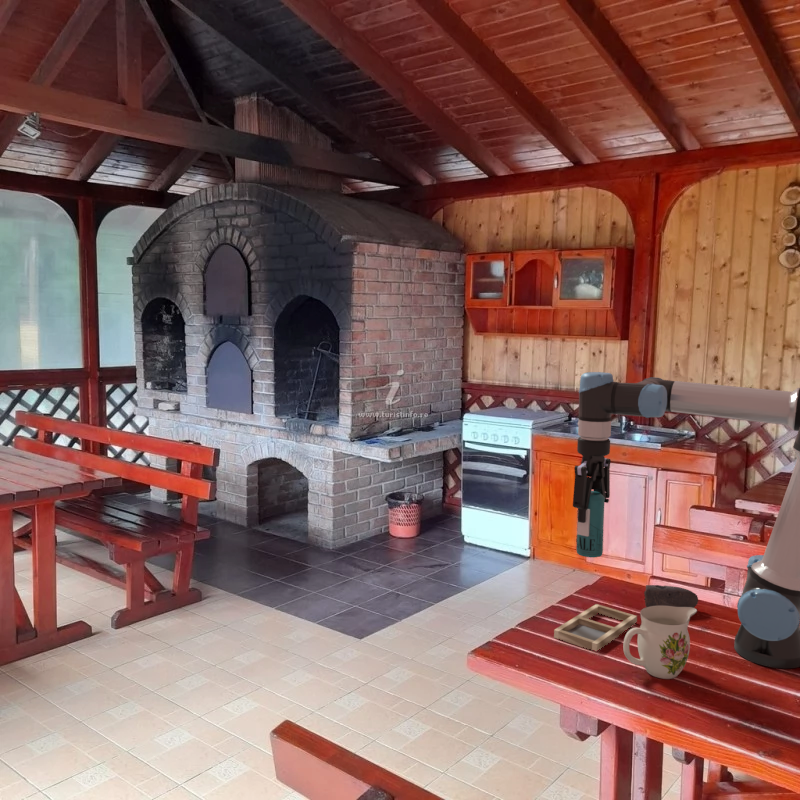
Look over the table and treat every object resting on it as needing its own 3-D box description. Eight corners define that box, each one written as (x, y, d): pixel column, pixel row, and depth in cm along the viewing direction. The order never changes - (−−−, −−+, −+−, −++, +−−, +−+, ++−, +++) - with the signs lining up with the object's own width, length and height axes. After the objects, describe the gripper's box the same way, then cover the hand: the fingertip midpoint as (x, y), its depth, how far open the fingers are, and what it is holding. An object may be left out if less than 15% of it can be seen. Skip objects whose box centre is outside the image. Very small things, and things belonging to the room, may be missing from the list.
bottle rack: (596, 611, 199) (596, 603, 199) (636, 623, 192) (637, 615, 192) (553, 637, 184) (554, 629, 183) (596, 652, 176) (596, 644, 176)
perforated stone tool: (694, 607, 203) (695, 582, 202) (701, 615, 197) (703, 590, 196) (638, 606, 203) (639, 582, 202) (644, 614, 198) (645, 589, 197)
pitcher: (608, 666, 169) (611, 608, 168) (676, 655, 174) (680, 599, 173) (637, 690, 159) (640, 628, 157) (708, 678, 164) (712, 618, 162)
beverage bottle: (600, 555, 184) (603, 475, 182) (605, 564, 178) (608, 482, 175) (573, 554, 185) (576, 475, 182) (577, 563, 178) (580, 481, 176)
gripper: (599, 430, 187) (595, 520, 190) (558, 440, 173) (555, 537, 176) (627, 434, 182) (623, 525, 185) (588, 445, 168) (584, 544, 171)
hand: (590, 531), depth 181 cm, fingers closed on beverage bottle, 6 cm apart
